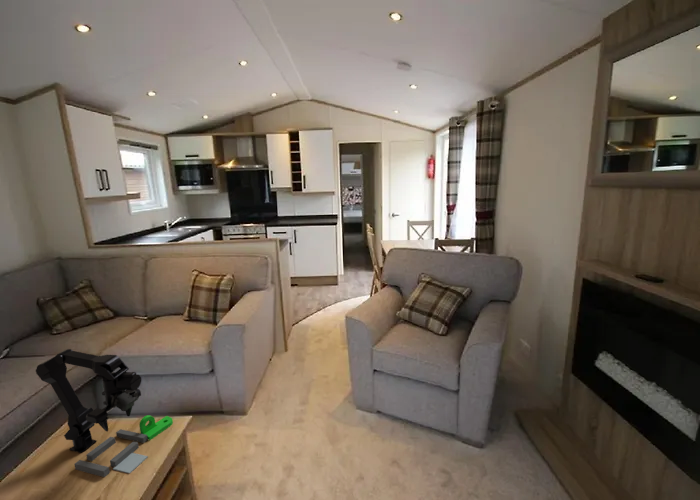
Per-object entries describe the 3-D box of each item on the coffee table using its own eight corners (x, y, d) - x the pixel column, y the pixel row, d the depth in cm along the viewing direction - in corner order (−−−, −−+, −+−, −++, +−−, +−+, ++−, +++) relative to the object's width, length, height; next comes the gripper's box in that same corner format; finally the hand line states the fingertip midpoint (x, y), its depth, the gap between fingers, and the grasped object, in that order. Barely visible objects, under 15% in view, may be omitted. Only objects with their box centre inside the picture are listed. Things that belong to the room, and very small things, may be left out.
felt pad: (113, 469, 127) (112, 468, 127) (131, 453, 134) (131, 452, 134) (129, 473, 124) (129, 472, 124) (147, 457, 132) (147, 456, 132)
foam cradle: (75, 469, 127) (74, 463, 127) (121, 434, 145) (120, 429, 145) (104, 477, 123) (103, 471, 123) (148, 440, 141) (147, 434, 141)
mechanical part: (149, 441, 141) (147, 424, 139) (141, 437, 143) (138, 420, 142) (175, 423, 151) (173, 407, 150) (167, 419, 154) (164, 403, 152)
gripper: (104, 406, 121) (110, 444, 124) (149, 378, 138) (153, 412, 141) (82, 400, 124) (88, 438, 127) (128, 374, 142) (133, 407, 144)
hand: (118, 423), depth 135 cm, fingers open, 9 cm apart
